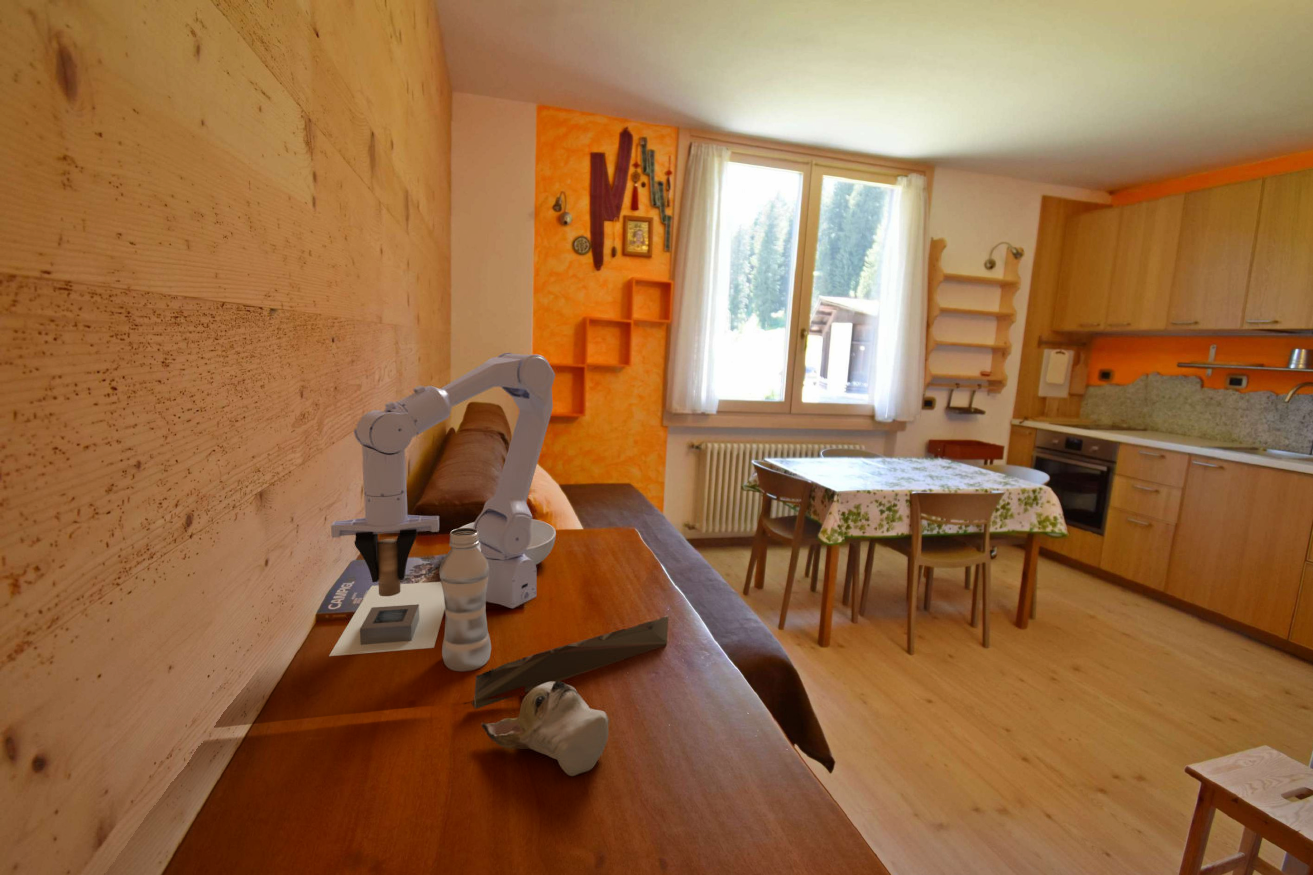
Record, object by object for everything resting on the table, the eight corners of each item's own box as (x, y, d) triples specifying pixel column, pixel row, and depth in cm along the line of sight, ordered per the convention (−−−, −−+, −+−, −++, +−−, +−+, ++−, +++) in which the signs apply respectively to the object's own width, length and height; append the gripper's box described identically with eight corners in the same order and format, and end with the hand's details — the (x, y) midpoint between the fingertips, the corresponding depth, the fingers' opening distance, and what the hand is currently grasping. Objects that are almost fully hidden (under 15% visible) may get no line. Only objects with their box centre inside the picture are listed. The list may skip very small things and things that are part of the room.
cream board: (371, 590, 104) (371, 585, 104) (452, 586, 107) (452, 581, 107) (329, 662, 81) (328, 655, 81) (434, 653, 84) (433, 647, 84)
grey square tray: (372, 622, 91) (371, 607, 90) (419, 618, 92) (419, 604, 92) (360, 644, 84) (359, 628, 84) (411, 640, 86) (410, 625, 85)
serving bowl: (429, 575, 112) (428, 541, 111) (490, 541, 132) (489, 512, 131) (523, 592, 106) (523, 556, 105) (572, 554, 126) (572, 524, 125)
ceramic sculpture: (566, 729, 56) (474, 680, 65) (568, 810, 57) (477, 750, 66) (635, 681, 64) (545, 644, 73) (636, 753, 65) (547, 707, 74)
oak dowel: (404, 591, 88) (403, 540, 87) (387, 597, 85) (385, 546, 84) (391, 586, 89) (389, 537, 88) (374, 593, 87) (372, 542, 85)
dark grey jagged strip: (662, 642, 90) (663, 610, 89) (667, 646, 89) (668, 614, 88) (472, 705, 73) (471, 666, 72) (475, 710, 72) (474, 671, 71)
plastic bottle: (477, 682, 78) (475, 542, 74) (432, 675, 79) (428, 536, 76) (499, 657, 84) (498, 527, 81) (457, 651, 85) (454, 522, 82)
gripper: (439, 483, 91) (441, 564, 93) (337, 487, 86) (341, 572, 88) (436, 495, 84) (438, 582, 86) (325, 499, 80) (330, 591, 82)
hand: (389, 578), depth 87 cm, fingers closed on oak dowel, 3 cm apart
